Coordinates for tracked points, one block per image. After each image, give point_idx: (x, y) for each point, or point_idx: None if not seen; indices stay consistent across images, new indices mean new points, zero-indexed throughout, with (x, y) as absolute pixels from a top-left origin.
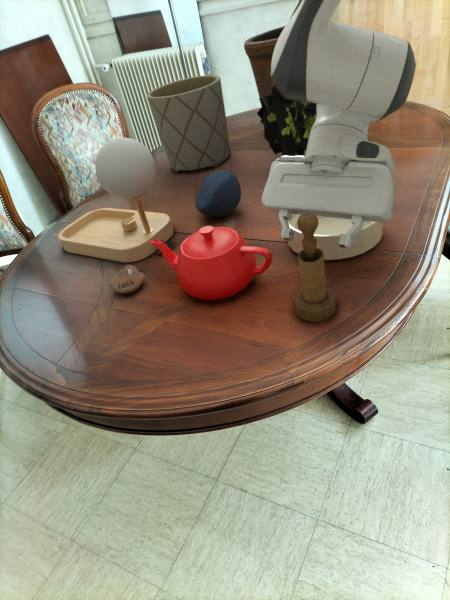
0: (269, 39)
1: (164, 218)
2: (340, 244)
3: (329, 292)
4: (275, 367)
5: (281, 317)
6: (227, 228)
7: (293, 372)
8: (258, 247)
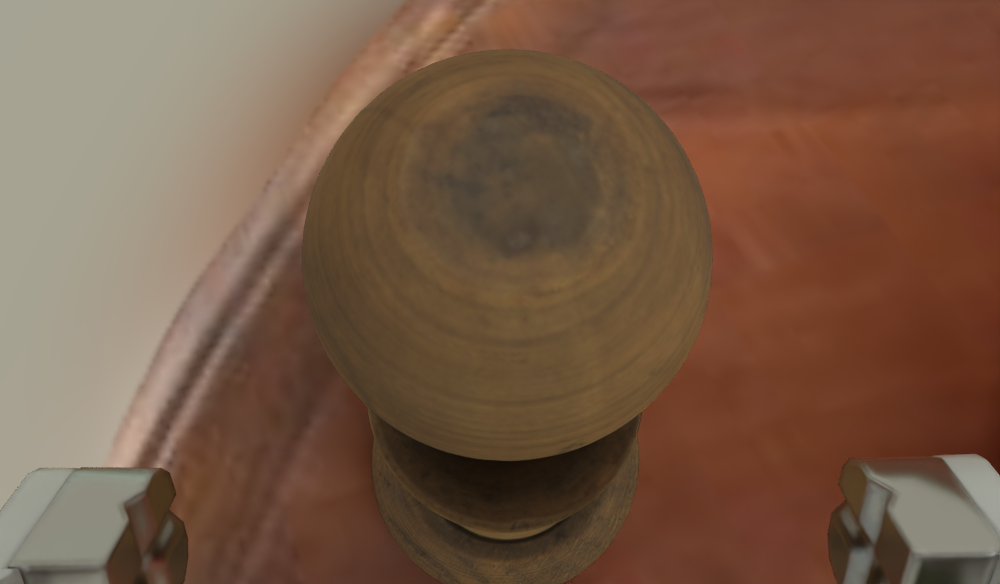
0: None
1: None
2: (134, 469)
3: (417, 518)
4: (517, 7)
5: None
6: None
7: (426, 11)
8: None
